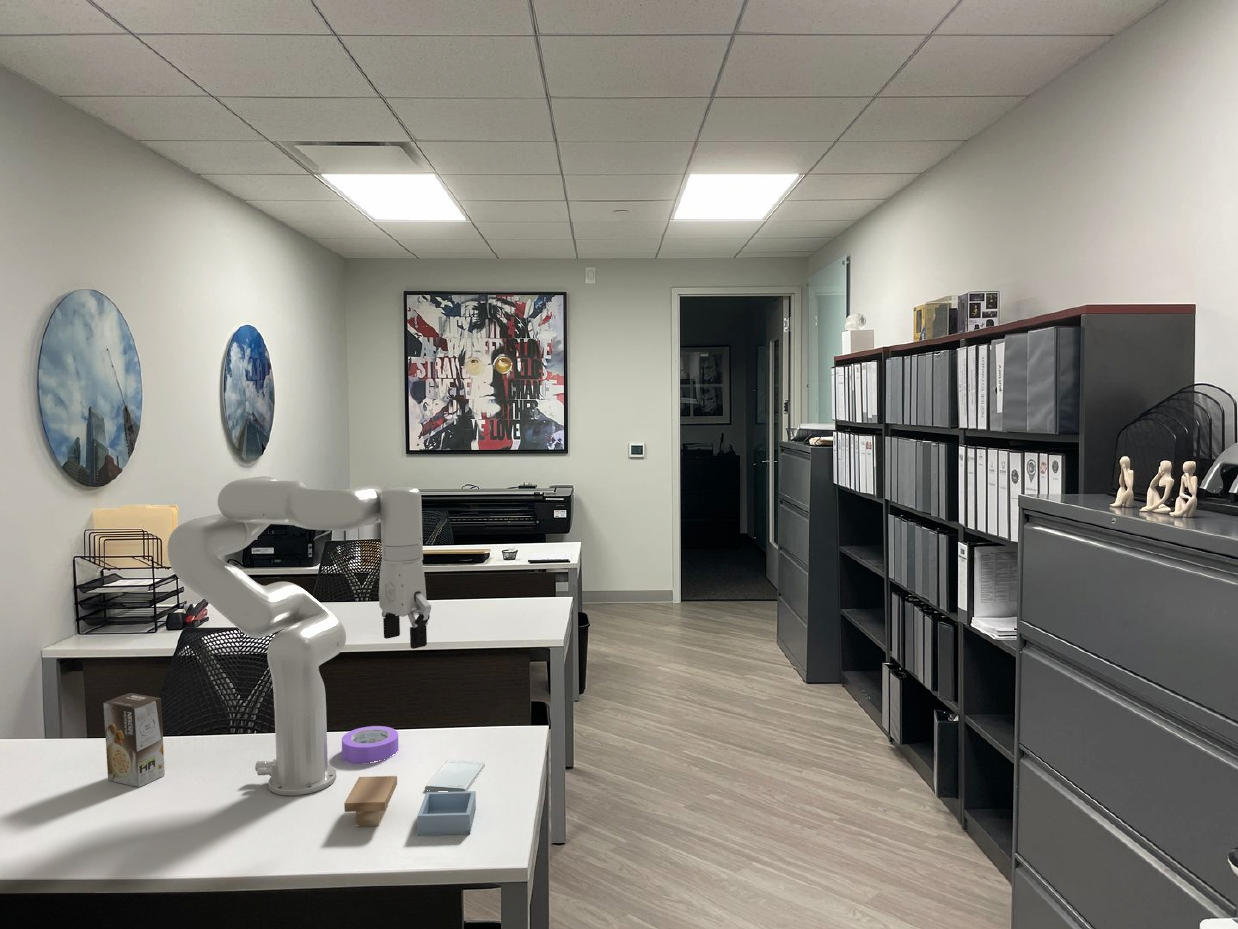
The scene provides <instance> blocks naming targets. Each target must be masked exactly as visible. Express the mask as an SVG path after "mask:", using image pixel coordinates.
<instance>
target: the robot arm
mask: <svg viewBox="0 0 1238 929" xmlns="http://www.w3.org/2000/svg"><path fill="white" fill-rule="evenodd" d="M217 507H218V510H219V511H220V513H217V514H213V515H207V516H201V517H197V518H196V517H195V518H193V519H190V520H187V521H185V522H183V523H181V524H179V525H178V526H176V527H175V528H174V530H172V532H171V533H170V535H169V537H168V540H167V550H166V551H167V558H168V562H169V566H170V568H171V570H172V571H173V572H174V574H175V576H176V577H177V578H178V579H179V580H180V581H181V583H182V584H184V585H185V586H187V587H188V588H189V590H192V591H193V592H194V593H196V594H197V595H198V596H200V597H201V598H203V600H205V601H206V602H207V603H208V604H210V605H211V606H212V608H214V609H215V610H216V611H217V612H218V613H220V614H221V615H222V616H223V617H224V618H225V619H227V620H228V621H229V622H230V623H231V624H232V625H233V626H235V627H236V628H237V629H238V630H239V631H241V632H242V633H243V634H245V635H246V636H248V637H250V638H253V639H261V638H265V637H268V636H271V635H272V634H275V633H276V634H275V635H274V636H273V637H272V639H271V640H270V642H269V644H268V646H267V652H266V653H267V656H266V657H267V664H268V668H269V672H270V675H271V681H272V689H273V691H272V692H273V707H274V708H273V710H274V729H275V730H274V732H275V733H274V734H275V757H276V758H274V759H272V761H267V760H260V761H256V762H255V766H254V768H255V769H254V770H255V772H256V773H257V776H268V775H269V779H268V789H269V791H271V793H273V794H277V795H280V796H303V795H309V794H311V793H315V792H316V793H317V792H319V791H322V790H323V789H326V788H327V787H329V786H330V785H332V784H333V783H334V782H335V780H336V779H337V772H336V771H337V770H336V769H335V767H333V766H331V765H329V764H328V762H329V761H328V732H327V731H328V730H327V729H328V728H327V702H326V701H327V700H326V697H327V696H326V687H325V683H324V680H323V678H322V676H321V673H320V668H319V667H320V666H321V665H322V664H324V663H326V662H327V661H329V660H331V659H333V658H335V657H336V656H338V655H339V654H340V653H341V652H342V650H343V649H344V647H345V645H346V641H347V633H346V632H347V631H346V629H345V627H344V624H343V623H342V622H341V620H340V619H339V618H338V616H336V615H335V614H333V613H332V612H331V611H330V610H329V609H328V608H327V607H326V606H324V605H323V604H322V603H321V602H320V601H319V600H317V599H316V598H315V597H314V596H313V595H311V594H310V593H309V592H308V591H306V589H304V588H302V587H301V586H300V585H298V584H295V583H293V582H289V581H276V582H273V583H269V584H267V585H262V584H260V583H258V582H257V581H255V580H254V579H252V578H251V577H250V576H249V575H248V574H246V573H245V572H244V570H242V569H240V568H239V567H237V566H236V565H232V563H231V564H230V563H228V562H226V561H225V560H222V559H220V558H219V557H222V556H227V555H230V554H235V553H238V552H240V551H242V550H244V549H245V548H247V547H248V546H249V545H251V543H252V542H253V541H255V540H256V539H257V538H258V536H260V535H261V534H262V533H263V532H264V530H266V529H267V528H268V527H269V526H270V525H283V526H284V525H285V526H286V525H287V526H288V525H289V526H295V527H297V528H302V529H306V530H316V531H335V532H336V531H337V532H339V531H341V532H342V531H353V530H357V529H360V528H363V527H366V526H370V525H374V524H380V536H381V538H380V539H381V540H380V542H381V563H380V568H379V569H380V570H379V585H378V586H379V587H378V588H379V589H378V593H377V594H378V601H379V602H378V605H379V608H380V609H381V611H382V612H381V616H382V618H383V619H382V621H383V624H382V625H383V638H384V639H386V640H387V639H391V638H396V637H399V636H400V635H401V624H400V623H401V622H400V619H401V618H400V617H403V618H405V617H408V619H409V622H410V625H411V626H409V643H410V645H409V646H410V648H411V649H413V650H414V649H419V648H423V647H426V646H427V644H428V637H427V636H428V633H427V630H428V629H427V628H428V627H427V626H428V625H429V620H430V617H431V616H430V613H431V610H432V605H431V604H430V602H429V601H428V600H427V590H426V577H425V571H424V565H423V564H424V563H423V560H424V549H423V548H424V547H423V546H424V545H423V513H422V512H423V511H422V510H423V508H422V493H421V492H420V490H419V489H418V488H417V487H412V486H394V487H386V486H382V485H381V486H380V485H375V484H369V485H367V484H366V485H362V486H355V487H351V488H347V489H346V488H345V489H315V488H313V489H312V488H308V487H307V486H306V485H305V483H303V482H301V481H299V480H278V479H277V478H274V477H271V476H266V475H263V476H255V477H248V478H247V477H246V478H241V479H235V480H233V481H231V482H229V483H227V484H226V485H224V486H223V487H222V488H221V490H220V491H219V494H218V497H217ZM415 616H417V617H415ZM277 632H278V633H277Z"/></svg>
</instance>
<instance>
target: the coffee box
mask: <svg viewBox="0 0 1238 929" xmlns="http://www.w3.org/2000/svg"><path fill="white" fill-rule="evenodd" d="M103 715H104V717H103V718H104V732H105V734H104V735H105V750H106V752H105V753H106V767H107V780H108V781H109V782H114V783H119V784H123V785H128V786H131V787H136V788H140V787H143V786H146V785H148V784H150V783H152V782H153V781H156V780H158V779H161V778H163V777H164V776H165V775H166V774H165V770H166V769H165V752H164V751H165V750H164V749H165V748H164V734H163V732H164V730H163V717H162V716H163V714H162V698H161V697H157V696H150V695H146V694H145V695H144V694H137V693H134V692H129V693H125V694H122V695H120V696H117V697H113V698H112V699H110V700H107V701H104V702H103Z"/></svg>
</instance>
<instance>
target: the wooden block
mask: <svg viewBox="0 0 1238 929" xmlns="http://www.w3.org/2000/svg"><path fill="white" fill-rule="evenodd" d="M387 809H388V807H387V808H386V810H385V811H361V812H355V823H356V824H355V826H356V827H367V826H368V825H369V826H373V825H374V826H375V825H376V826H380V825H381V822H382V820H383V818H384V816H385V814H386V811H387ZM384 813H385V814H384ZM383 815H384V816H383ZM379 824H380V825H379ZM369 826H368V827H369Z"/></svg>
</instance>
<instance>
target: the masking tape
mask: <svg viewBox="0 0 1238 929" xmlns="http://www.w3.org/2000/svg"><path fill="white" fill-rule="evenodd" d="M397 751H398V752H399V731H397V729H394V728H393V727H389V726H385V725H384V726H382V725H371V726H365V727H358V728H355V729H353V730H351V731H348V732H346V733H345V734H344V735H343V736H342V737H341V758H342V759H343V760H344V761H346V762H348V763H351V764H357V765H358V764H359V765H363V764H362V763H369V764H371V763H370V762H374V761H379V760H384V759H387V758H389V757H390V756H392V755H393V754H396V752H397ZM398 752H397V753H398ZM396 755H397V754H396ZM389 759H390V758H389ZM387 760H388V759H387ZM384 761H385V760H384Z"/></svg>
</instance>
